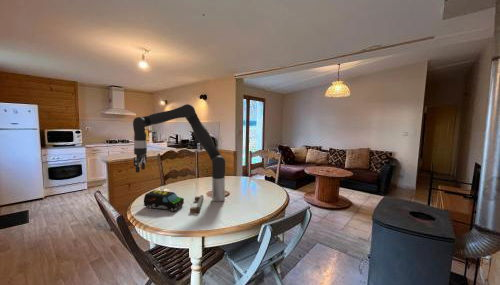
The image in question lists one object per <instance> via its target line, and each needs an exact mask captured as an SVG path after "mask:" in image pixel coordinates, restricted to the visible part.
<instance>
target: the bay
mask: <svg viewBox="0 0 500 285" xmlns="http://www.w3.org/2000/svg"><path fill="white" fill-rule="evenodd" d="M195 201H198V202H197V204H196V206H193V207H192V206H190V208H189V213H190V214H200V213H201V209H202V205H203V203H204V195H203V194H201V195H200V196H194V202H195Z"/></svg>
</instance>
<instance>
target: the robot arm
mask: <svg viewBox="0 0 500 285" xmlns="http://www.w3.org/2000/svg"><path fill="white" fill-rule="evenodd" d="M181 118H182V119H183V118H185V119H186V120H187V122H188V124H189V125H190V127H191V130H192V131H193V134H194V136H195V137H196V139H197V141H198V143H199V144H200V145H201V148H203V149H204V151H205V152H206V153H207V154H208V157H209V159H210V161H211V164H212V165H211V166H212V170H211V171H212V173H211V176H212V177H211V182H212V183H211V186H212V188H211V189H212V190H211V192H212V193H211V194H212V195H211V200H212V201H213V202H215V203H217V202H219V203H221V202H225V201H226V200H225V199H226V194H225V193H226V182H225V180H226V161H225V158H224V157H223V155H222V154H221V153H220V152H219V150H218V149H217V147H216V144H215V142H214V140H213V138H212V136H211V134H210V133H209V131H208V129H207V128H206V127H205V125H204V124H203V122H201V119H199V117H198V114H197V112H196V109H195V107H194V106H193V105H192V104H189V103H186V104H184V105H182V106H180V107H176V108H173V109H170V110H164V111H160V112H155V113H151V114H149V115H146V116H145V115H144V116H137V117H135V118H134V119H133V121H132V127H133V128H132V129H133V132H134V135H133V136H134V137H133V138H134V140H133V154H134V155H135V156H134V157H133V167H135V173H141V172H140V169H141V170H146V164H147V159H148V158H147V157H148V156H147V155H148V154H147V152H148V149H147V148H148V144H147V143H148V142H147V133H146V127H149V126H153V125H159V124H163V123H166V122H169V121H172V120H175V119H181ZM140 166H141V167H140Z"/></svg>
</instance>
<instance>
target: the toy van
mask: <svg viewBox="0 0 500 285" xmlns="http://www.w3.org/2000/svg"><path fill="white" fill-rule="evenodd" d="M184 203H185V199H184V198H183V197H180V196H178V195H177V193H175V192H174V191H166V190H155V189H154V190H152V191H149V192H148V193H147V192H146V194H145V195H144V197H143V207H147V209H148V210H153V209H155V208H156V209H163V210H164V209H165V210H168V211H169V212H171V213H174V212H176V211H177V210H179V208H181V207H183V205H184Z"/></svg>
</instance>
